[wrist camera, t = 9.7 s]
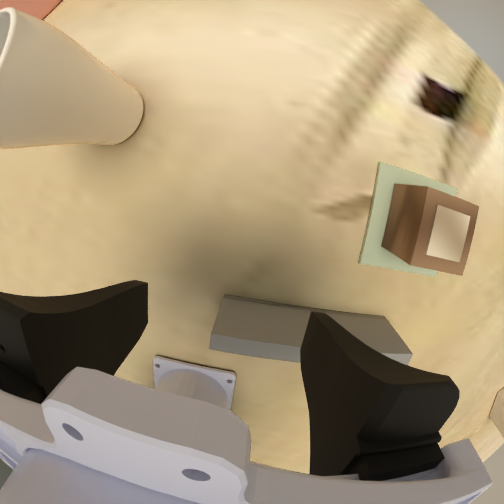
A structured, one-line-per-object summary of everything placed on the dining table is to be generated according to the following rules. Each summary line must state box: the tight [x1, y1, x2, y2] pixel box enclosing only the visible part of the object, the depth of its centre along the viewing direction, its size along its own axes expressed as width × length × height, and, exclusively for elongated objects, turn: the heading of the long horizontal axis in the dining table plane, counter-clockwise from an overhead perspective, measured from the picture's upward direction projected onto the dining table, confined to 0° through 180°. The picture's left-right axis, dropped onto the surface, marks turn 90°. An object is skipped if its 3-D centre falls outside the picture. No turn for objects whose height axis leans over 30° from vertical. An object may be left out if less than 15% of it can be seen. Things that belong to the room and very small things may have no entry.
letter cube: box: [381, 184, 479, 276], centre depth 17 cm, size 5×5×5 cm
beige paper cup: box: [0, 7, 143, 149], centre depth 11 cm, size 7×7×15 cm
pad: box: [359, 162, 457, 277], centre depth 19 cm, size 8×8×1 cm
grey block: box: [209, 295, 413, 365], centre depth 20 cm, size 4×14×6 cm, turn 81°
